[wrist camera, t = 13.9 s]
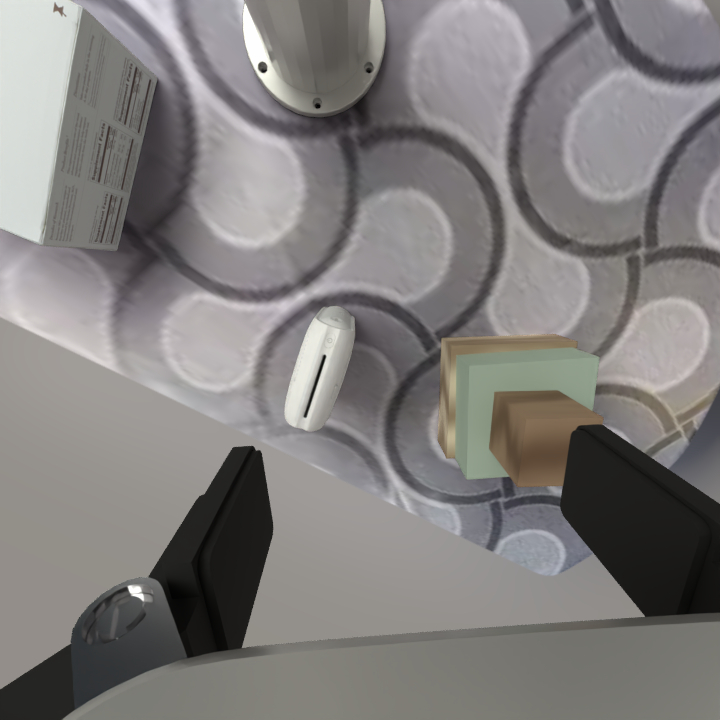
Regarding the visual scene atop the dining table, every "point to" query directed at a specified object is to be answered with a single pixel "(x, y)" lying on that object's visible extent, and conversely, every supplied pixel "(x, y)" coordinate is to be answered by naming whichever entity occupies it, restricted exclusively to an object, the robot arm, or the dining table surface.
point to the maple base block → (477, 346)
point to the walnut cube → (535, 434)
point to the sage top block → (511, 373)
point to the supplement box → (67, 125)
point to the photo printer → (320, 368)
